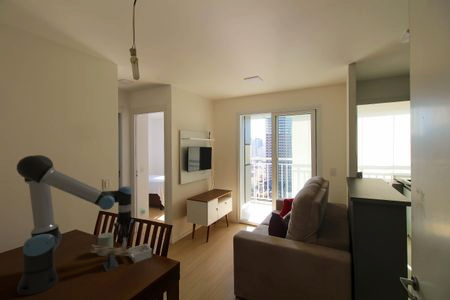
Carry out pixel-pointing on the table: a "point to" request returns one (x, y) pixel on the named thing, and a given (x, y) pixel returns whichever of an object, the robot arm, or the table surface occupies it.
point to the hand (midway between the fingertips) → (124, 247)
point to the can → (105, 241)
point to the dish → (140, 253)
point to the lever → (110, 250)
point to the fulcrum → (110, 262)
